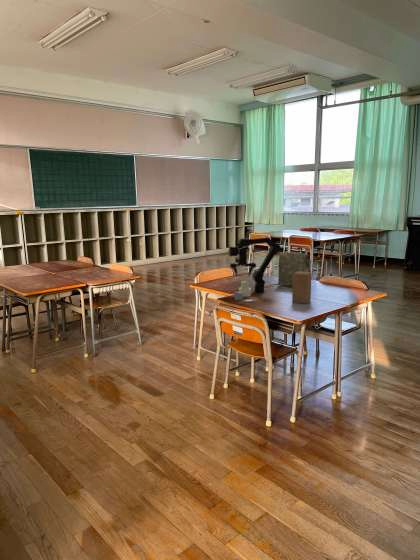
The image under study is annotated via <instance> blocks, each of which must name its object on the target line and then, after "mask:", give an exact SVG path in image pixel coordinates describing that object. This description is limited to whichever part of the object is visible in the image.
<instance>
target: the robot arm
mask: <svg viewBox="0 0 420 560" xmlns="http://www.w3.org/2000/svg"><path fill="white" fill-rule="evenodd" d="M257 244H267V245H268V247H269V248H268V253H267V254H266V256H265V258H264V259H263V261H262V263H261V265H260V266H259V268H258V269H257V270H256V269H255V268H257V263H256V262H253V261H252V262H249V263H248V261H247V260H248V250H250V247H249V246H251V245H257ZM281 248H282V247H281V245H280V244H279V243H276V242H275V241H274V240H273V239H271V238H270V237H269V236H265V237H257V238H244V237H241V238H239V240H238V241H237V243H236V245H235V246H229V248H228V256H229V257H236V258H235V259H234V262H230V263H229V267H230V268H231V269H232V270H233V271H234V274H235V277H236V278H237V277H238V269H237V267H238V268H239V267H248V277H250V276H251V275H252V276H251V279H252V280H253V281H254V286H253V288H254V290H253V291H254V292H255V293H258V294H259V293H266V292H265V285H266V284H265V283H266V281H265V280H264V279H263V278H264V273H265V271H266V269H267V268H268V266H269V265H270V263H271V261H272V260H273V258H274V257H275V256H276V255H277V254H278V253H279V251H280V250H281ZM237 256H238V258H237ZM253 269H255V270H254V271H253ZM252 271H253V273H252ZM251 273H252V274H251Z"/></svg>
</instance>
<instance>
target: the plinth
mask: <svg viewBox="0 0 420 560" xmlns="http://www.w3.org/2000/svg"><path fill="white" fill-rule="evenodd" d="M238 291H241V292H243V297H251V296H252V289H251V287H249V289H246V290H242V289H241V287H238Z"/></svg>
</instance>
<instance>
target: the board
mask: <svg viewBox="0 0 420 560" xmlns="http://www.w3.org/2000/svg"><path fill="white" fill-rule="evenodd" d="M242 301H243V303H256V302H257V301H256V300H255V299H254V298H252V299H251V298H250V299H243V300H242Z"/></svg>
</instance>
